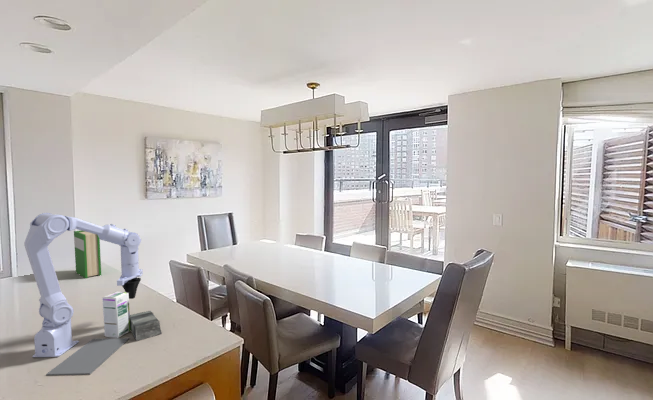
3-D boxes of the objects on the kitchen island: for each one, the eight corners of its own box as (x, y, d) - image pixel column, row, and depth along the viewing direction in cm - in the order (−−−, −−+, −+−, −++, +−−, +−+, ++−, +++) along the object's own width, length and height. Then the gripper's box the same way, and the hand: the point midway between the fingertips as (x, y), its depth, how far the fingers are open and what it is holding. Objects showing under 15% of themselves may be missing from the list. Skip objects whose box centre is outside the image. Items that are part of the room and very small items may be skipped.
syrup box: (118, 338, 116) (116, 297, 115) (103, 337, 117) (101, 296, 116) (131, 331, 122) (129, 292, 121) (117, 329, 123) (115, 290, 122)
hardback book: (101, 275, 188) (99, 233, 186) (85, 278, 182) (83, 234, 181) (91, 269, 199) (89, 229, 198) (76, 272, 194) (73, 231, 192)
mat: (90, 374, 95) (89, 373, 95) (46, 375, 95) (46, 374, 95) (129, 339, 116) (129, 338, 116) (93, 339, 115) (93, 338, 115)
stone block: (154, 321, 131) (154, 308, 131) (164, 334, 120) (163, 320, 119) (128, 327, 125) (127, 313, 125) (135, 342, 114) (135, 327, 114)
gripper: (130, 268, 120) (132, 305, 121) (149, 258, 135) (151, 291, 136) (110, 268, 120) (112, 305, 121) (131, 258, 135) (133, 291, 136)
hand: (131, 298), depth 128 cm, fingers closed
